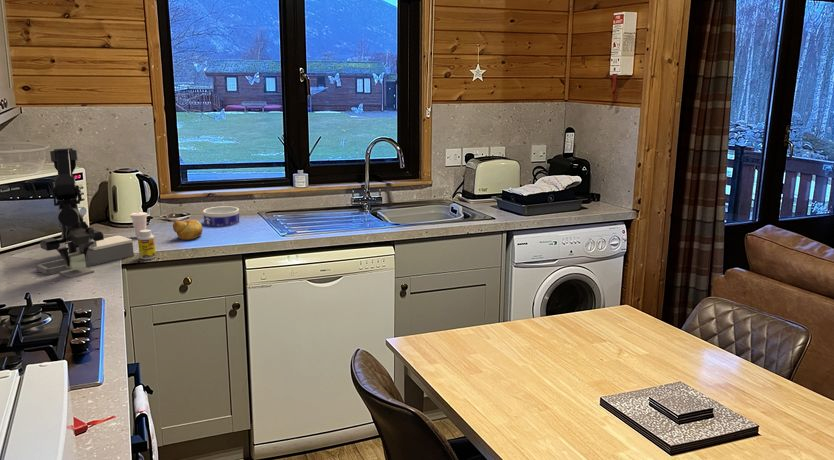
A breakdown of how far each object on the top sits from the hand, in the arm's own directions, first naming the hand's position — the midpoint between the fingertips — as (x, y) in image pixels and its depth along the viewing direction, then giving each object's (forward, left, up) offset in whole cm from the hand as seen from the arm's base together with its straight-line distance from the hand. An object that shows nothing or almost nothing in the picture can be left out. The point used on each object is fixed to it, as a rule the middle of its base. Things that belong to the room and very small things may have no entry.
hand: (75, 264), depth 232 cm
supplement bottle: (+2, +25, -3) cm, 25 cm away
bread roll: (-13, +52, -3) cm, 54 cm away
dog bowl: (-25, +75, -3) cm, 79 cm away
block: (0, 0, -1) cm, 1 cm away
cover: (-9, +16, +2) cm, 18 cm away
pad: (0, 0, -3) cm, 3 cm away
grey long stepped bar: (-9, +8, -3) cm, 13 cm away
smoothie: (-29, +39, -3) cm, 49 cm away
